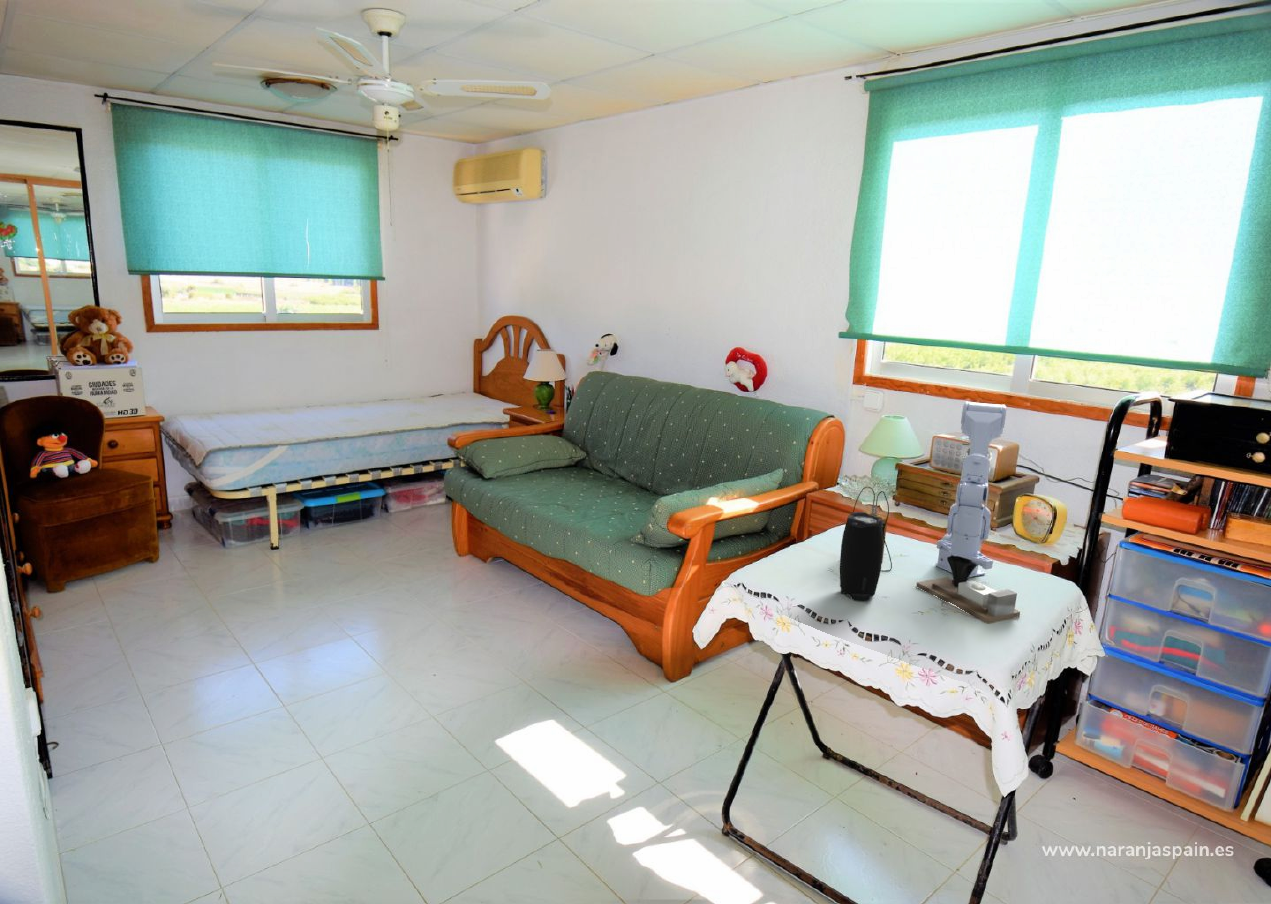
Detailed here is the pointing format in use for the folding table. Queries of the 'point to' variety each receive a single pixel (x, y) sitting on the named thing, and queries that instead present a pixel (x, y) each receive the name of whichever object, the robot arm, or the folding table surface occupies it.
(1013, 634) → the folding table surface
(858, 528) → the portable speaker
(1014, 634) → the folding table surface
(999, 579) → the folding table surface
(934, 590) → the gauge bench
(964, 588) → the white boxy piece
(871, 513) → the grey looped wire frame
